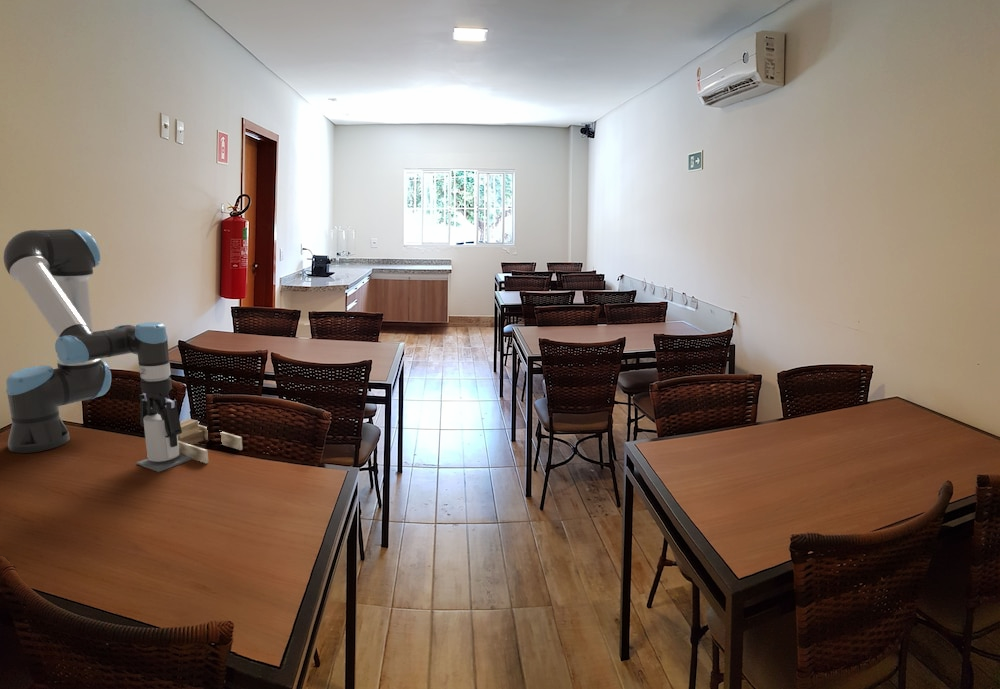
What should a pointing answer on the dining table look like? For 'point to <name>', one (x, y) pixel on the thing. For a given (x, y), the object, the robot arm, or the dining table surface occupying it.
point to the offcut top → (188, 427)
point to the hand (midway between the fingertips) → (163, 453)
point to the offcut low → (193, 438)
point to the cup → (156, 438)
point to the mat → (163, 463)
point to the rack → (202, 453)
